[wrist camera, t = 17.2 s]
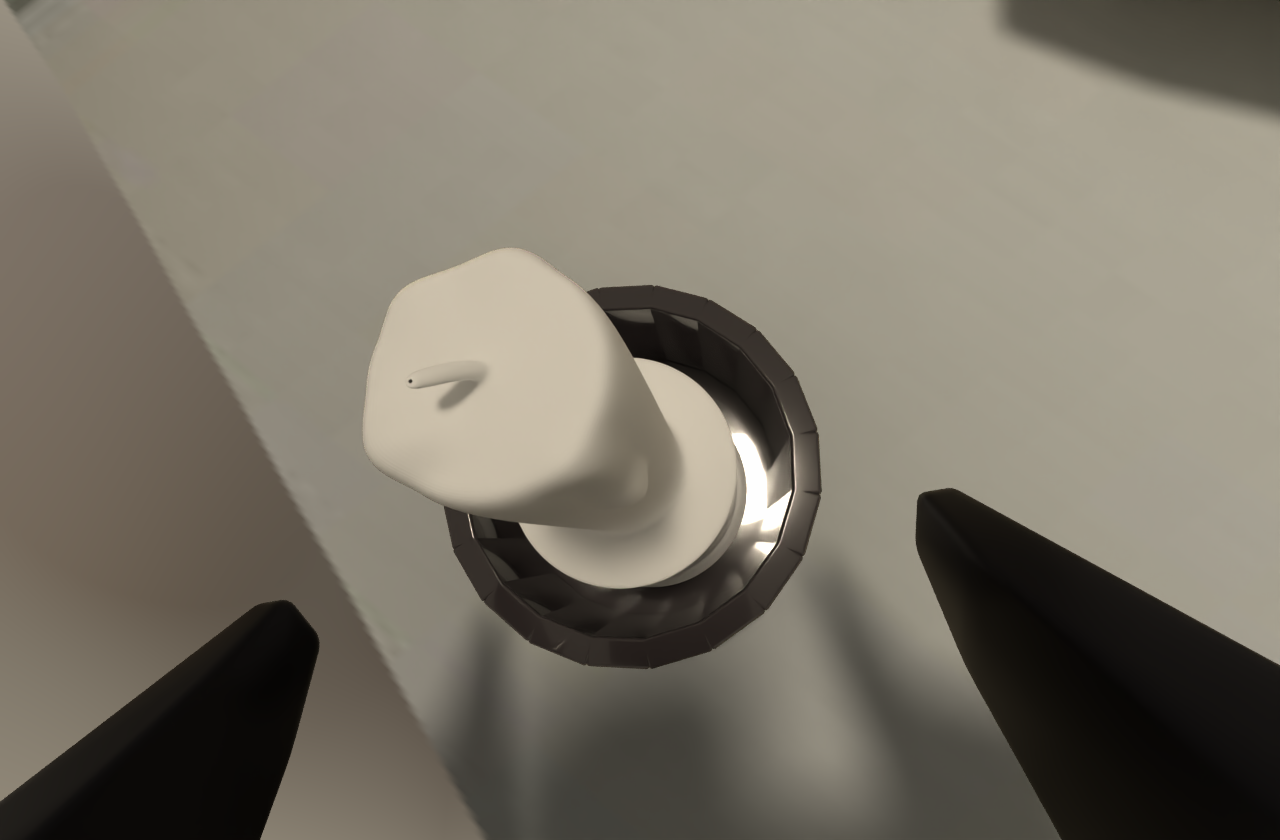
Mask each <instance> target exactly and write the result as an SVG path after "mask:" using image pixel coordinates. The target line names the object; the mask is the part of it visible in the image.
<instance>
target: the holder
mask: <svg viewBox="0 0 1280 840" xmlns="http://www.w3.org/2000/svg"><path fill="white" fill-rule="evenodd" d="M587 293H588V294H589V295H590V296H591V297H592V298H593V299H594V300H595V302H596V303H597V304H598V305H599V306H600V307H601V309H602V310H603V311H604V312H605V314H606V315H607V316H608V318H609V319H610V321H611V322H612V324H613V325H614V327H615V328H616V330H617V331H618V333H619V334H620V336H621V338H622V339H623V341H624V343H625V344H626V346H627V348H628V349H629V351H630V353H631V355H632V356H633V358H641V359H647V360H652V361H656V362H659V363H662V364H665V365H668V366H670V367H672V368H674V369H676V370H678V371H680V372H682V373H684V374H685V375H687V376H688V377H690V378H691V379H692V380H694V381H695V382H696V383H697V384H699V385H700V386H701V387H702V388H703V389H704V390H705V391H706V392H707V393H708V394H709V395H710V397H711V398H712V399H713V400H714V402H715V403H716V404H717V406H718V407H719V409H720V410H721V412H722V414H723V416H724V418H725V419H726V422H727V424H728V426H729V429H730V431H731V434H732V437H733V441H734V444H735V446H736V448H737V450H738V452H739V454H740V457H741V459H742V462H743V466H744V470H745V475H746V483H747V499H746V507H745V512H744V516H743V519H742V523H741V525H740V528H739V530H738V532H737V534H736V536H735V538H734V540H733V542H732V543H731V545H730V546H729V548H728V549H727V550H726V552H725V553H724V554H723V555H722V556H721V557H720V558H719V559H718V560H717V561H716V562H715V563H714V564H713V565H712V566H710V567H709V568H708V569H706V570H705V571H704V572H702V573H700V574H699V575H697V576H695V577H693V578H691V579H689V580H686V581H684V582H681V583H678V584H674V585H669V586H663V587H636V588H624V589H616V588H605V587H599V586H594V585H590V584H587V583H584V582H581V581H579V580H576V579H574V578H572V577H570V576H568V575H566V574H564V573H563V572H561V571H559V570H558V569H556V568H555V567H554V566H552V565H551V564H550V563H549V562H548V561H546V560H545V559H544V558H543V557H542V556H541V555H540V554H539V553H538V552H537V550H536V549H535V548H534V547H533V546H532V544H531V543H530V542H529V540H528V539H527V537H526V535H525V534H524V532H523V530H522V528H521V526H520V524H519V523H518V522H511V521H504V520H498V519H492V518H486V517H481V516H477V515H472V514H468V513H464V512H461V511H458V510H454V509H452V508H449V507H446V506H444V509H445V514H446V518H447V523H448V528H449V532H450V537H451V542H452V547H453V548H454V553H455V555H456V557H457V558H458V560H459V562H460V563H461V565H462V567H463V569H464V570H465V572H466V574H467V576H468V577H469V579H470V581H471V583H472V584H473V586H474V588H475V590H476V591H477V593H478V595H479V597H480V598H481V600H482V601H484V603H485V604H486V605H487V606H488V607H489V608H490V609H492V610H493V611H494V612H495V613H496V614H497V615H498V616H499V617H501V618H502V619H503V620H504V621H505V622H506V623H507V624H509V625H510V626H511V627H512V628H513V629H514V630H515V631H516V632H518V633H519V634H520V635H521V636H522V637H523V638H524V639H525V640H528V641H529V642H530V643H531V644H533V645H536V646H538V647H541V648H543V649H546V650H548V651H550V652H553V653H555V654H558V655H560V656H562V657H565V658H567V659H570V660H572V661H575V662H577V663H579V664H582V665H586V664H587V665H588V666H597V667H616V668H636V669H648V668H649V667H650V668H651V669H653V668H656V667H660V666H663V665H667V664H670V663H673V662H677V661H680V660H683V659H687V658H690V657H693V656H697V655H700V654H703V653H707V652H710V651H711V650H712V649H716V648H717V647H718V646H720V645H721V644H722V643H724V642H725V641H727V640H728V639H729V638H731V637H732V636H733V635H735V634H736V633H738V632H739V631H740V630H742V629H743V628H744V627H746V626H747V625H749V624H750V623H751V622H753V621H754V620H755V619H757V618H758V617H760V616H761V615H762V614H764V612H765V610H767V609H769V607H770V606H771V604H772V603H773V601H774V600H775V598H776V597H777V596H778V594H779V593H780V591H781V590H782V588H783V587H784V586H785V584H786V583H787V581H788V580H789V578H790V577H791V575H792V574H793V573H794V571H795V570H796V568H797V567H798V565H799V564H800V563H801V561H802V559H803V557H802V556H804V554H805V552H806V549H807V545H808V542H809V538H810V535H811V531H812V528H813V524H814V521H815V517H816V513H817V510H818V506H819V503H820V499H821V495H819V494H821V491H822V488H821V469H820V449H819V434H818V432H817V426H816V424H815V421H814V419H813V416H812V413H811V411H810V408H809V406H808V403H807V401H806V398H805V396H804V393H803V391H802V388H801V386H800V383H799V381H798V378H797V377H796V376H794V375H795V374H794V371H793V370H792V369H791V368H790V367H789V365H788V364H787V363H786V362H785V361H784V360H783V358H782V357H781V356H780V355H779V354H778V352H777V351H776V350H775V349H774V348H773V346H772V345H771V344H770V343H769V342H768V340H767V339H766V338H765V337H764V336H763V335H762V333H761V332H760V331H758V330H757V329H756V328H755V327H754V326H752V325H751V324H749V323H747V322H746V321H744V320H742V319H741V318H739V317H738V316H736V315H734V314H733V313H731V312H730V311H728V310H726V309H725V308H723V307H722V306H720V305H718V304H717V303H715V302H713V301H712V300H708V299H707V298H704V297H700V296H696V295H692V294H688V293H684V292H680V291H676V290H672V289H668V288H664V287H660V286H655V287H654V286H653V285H642V286H623V287H604V288H600V289H598V288H596V289H593V290H590V291H588V292H587ZM756 330H757V331H756Z"/></svg>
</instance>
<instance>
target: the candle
mask: <svg viewBox="0 0 1280 840" xmlns="http://www.w3.org/2000/svg"><path fill="white" fill-rule="evenodd" d="M362 435H363V444H364V448H365V451H366V454H367V456H368V458H369V459H370V461H371V462H372V463H373V464H374V466H375V467H376V468H378V469H379V470H380V471H381V472H382V473H384V474H385V475H387V476H389V477H390V478H392V479H394V480H396V481H398V482H400V483H402V484H404V485H406V486H408V487H410V488H412V489H414V490H415V491H417V492H419V493H420V494H422V495H424V496H425V497H427V498H429V499H431V500H433V501H435V502H437V503H439V504H441V505H444V506H446V507H449V508H452V509H454V510H458V511H461V512H464V513H468V514H472V515H477V516H481V517H486V518H492V519H498V520H504V521H511V522H518V523H519V524H520V526H521V528H522V530H523V532H524V534H525V535H526V537H527V539H528V540H529V542H530V543H531V544H532V546H533V547H534V548H535V549H536V550H537V552H538V553H539V554H540V555H541V556H542V557H543V558H544V559H545V560H546V561H548V562H549V563H550V564H551V565H552V566H554V567H555V568H556V569H558V570H559V571H561V572H563V573H564V574H566V575H568V576H570V577H572V578H574V579H576V580H579V581H581V582H584V583H587V584H590V585H594V586H599V587H605V588H616V589H624V588H636V587H663V586H669V585H674V584H678V583H681V582H684V581H686V580H689V579H691V578H693V577H695V576H697V575H699V574H700V573H702V572H704V571H705V570H706V569H708V568H709V567H710V566H712V565H713V564H714V563H715V562H716V561H717V560H718V559H719V558H720V557H721V556H722V555H723V554H724V553H725V552H726V550H727V549H728V548H729V546H730V545H731V543H732V542H733V540H734V538H735V536H736V534H737V532H738V530H739V528H740V525H741V523H742V519H743V516H744V512H745V507H746V499H747V483H746V475H745V470H744V466H743V462H742V459H741V457H740V454H739V452H738V450H737V448H736V446H735V444H734V441H733V437H732V434H731V431H730V429H729V426H728V424H727V422H726V419H725V418H724V416H723V414H722V412H721V410H720V409H719V407H718V406H717V404H716V403H715V402H714V400H713V399H712V398H711V397H710V395H709V394H708V393H707V392H706V391H705V390H704V389H703V388H702V387H701V386H700V385H699V384H697V383H696V382H695V381H694V380H692V379H691V378H690V377H688V376H687V375H685V374H684V373H682V372H680V371H678V370H676V369H674V368H672V367H670V366H668V365H665V364H662V363H659V362H656V361H652V360H647V359H641V358H633V356H632V355H631V353H630V351H629V349H628V348H627V346H626V344H625V343H624V341H623V339H622V338H621V336H620V334H619V333H618V331H617V330H616V328H615V327H614V325H613V324H612V322H611V321H610V319H609V318H608V316H607V315H606V314H605V312H604V311H603V310H602V309H601V307H600V306H599V305H598V304H597V303H596V302H595V300H594V299H593V298H592V297H591V296H590V295H589V294H588V293H587V292H586V291H585V290H583V289H582V288H581V287H580V286H579V285H578V284H576V283H575V282H574V281H572V280H571V279H569V278H568V277H566V276H565V275H563V274H562V273H560V272H559V271H558V270H556V269H555V268H554V267H553V266H551V265H550V264H549V263H548V262H546V261H545V260H544V259H542V258H541V257H539V256H537V255H536V254H534V253H531V252H529V251H527V250H523V249H519V248H502V249H498V250H494V251H491V252H488V253H485V254H483V255H481V256H479V257H476V258H474V259H472V260H470V261H467V262H465V263H463V264H460V265H458V266H455V267H453V268H450V269H447V270H444V271H441V272H438V273H435V274H432V275H429V276H426V277H424V278H421V279H419V280H416V281H414V282H412V283H410V284H409V285H407V286H406V287H404V288H403V289H402V290H401V291H400V292H399V293H398V294H397V295H396V296H395V298H394V299H393V301H392V302H391V304H390V306H389V308H388V311H387V314H386V316H385V320H384V323H383V326H382V330H381V333H380V336H379V339H378V341H377V344H376V346H375V349H374V352H373V355H372V358H371V362H370V366H369V371H368V377H367V386H366V398H365V406H364V414H363V428H362Z"/></svg>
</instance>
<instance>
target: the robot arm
mask: <svg viewBox="0 0 1280 840" xmlns="http://www.w3.org/2000/svg"><path fill="white" fill-rule="evenodd" d="M916 546H917V550H918V554H919V556H920V559H921V561H922V564H923V566H924V569H925V571H926V573H927V576H928V578H929V581H930V583H931V585H932V588H933V590H934V592H935V595H936V597H937V600H938V602H939V604H940V607H941V609H942V611H943V614H944V616H945V619H946V621H947V623H948V626H949V628H950V631H951V633H952V635H953V638H954V640H955V642H956V645H957V647H958V649H959V652H960V654H961V656H962V658H963V661H964V663H965V665H966V667H967V669H968V671H969V673H970V675H971V677H972V679H973V681H974V682H975V684H976V686H977V688H978V690H979V692H980V693H981V695H982V697H983V699H984V701H985V702H986V704H987V706H988V708H989V710H990V711H991V713H992V715H993V717H994V719H995V720H996V722H997V724H998V726H999V728H1000V729H1001V731H1002V733H1003V735H1004V737H1005V738H1006V740H1007V742H1008V744H1009V746H1010V747H1011V749H1012V751H1013V753H1014V755H1015V756H1016V758H1017V760H1018V762H1019V764H1020V765H1021V767H1022V769H1023V771H1024V773H1025V774H1026V776H1027V778H1028V780H1029V782H1030V783H1031V785H1032V787H1033V789H1034V791H1035V792H1036V794H1037V796H1038V798H1039V800H1040V801H1041V803H1042V805H1043V807H1044V809H1045V810H1046V812H1047V814H1048V816H1049V818H1050V819H1051V821H1052V823H1053V825H1054V827H1055V828H1056V830H1057V832H1058V834H1059V836H1060V837H1061V839H1062V840H1280V665H1278V664H1276V663H1274V662H1273V661H1271V660H1269V659H1267V658H1265V657H1263V656H1262V655H1260V654H1258V653H1256V652H1254V651H1252V650H1251V649H1249V648H1247V647H1245V646H1243V645H1241V644H1240V643H1238V642H1236V641H1234V640H1232V639H1230V638H1229V637H1227V636H1225V635H1223V634H1221V633H1219V632H1218V631H1216V630H1214V629H1212V628H1210V627H1208V626H1207V625H1205V624H1203V623H1201V622H1199V621H1197V620H1196V619H1194V618H1192V617H1190V616H1188V615H1186V614H1184V613H1183V612H1181V611H1179V610H1177V609H1175V608H1173V607H1172V606H1170V605H1168V604H1166V603H1164V602H1162V601H1161V600H1159V599H1157V598H1155V597H1153V596H1151V595H1150V594H1148V593H1146V592H1144V591H1142V590H1140V589H1139V588H1137V587H1135V586H1133V585H1131V584H1129V583H1128V582H1126V581H1124V580H1122V579H1120V578H1118V577H1117V576H1115V575H1113V574H1111V573H1109V572H1107V571H1106V570H1104V569H1102V568H1100V567H1098V566H1096V565H1095V564H1093V563H1091V562H1089V561H1087V560H1085V559H1084V558H1082V557H1080V556H1078V555H1076V554H1074V553H1072V552H1071V551H1069V550H1067V549H1065V548H1063V547H1061V546H1060V545H1058V544H1056V543H1054V542H1052V541H1050V540H1049V539H1047V538H1045V537H1043V536H1041V535H1039V534H1038V533H1036V532H1034V531H1032V530H1030V529H1028V528H1027V527H1025V526H1023V525H1021V524H1019V523H1017V522H1016V521H1014V520H1012V519H1010V518H1008V517H1006V516H1005V515H1003V514H1001V513H999V512H997V511H995V510H994V509H992V508H990V507H988V506H986V505H984V504H983V503H981V502H979V501H977V500H975V499H973V498H972V497H970V496H968V495H966V494H964V493H962V492H960V491H958V490H956V489H953V488H946V489H940V490H934V491H928V492H924V493H922V494H920V495H919V498H918V501H917V517H916ZM318 652H319V638H318V635H317V633H316V631H315V630H314V629H313V628H312V627H311V625H310V624H309V623H308V621H307V620H306V619H305V618H304V616H303V615H302V614H301V613H300V612H299V610H298V609H297V608H296V607H295V605H293V604H292V603H291V602H289V601H287V600H279V601H273V602H267V603H262V604H259V605H257V606H255V607H253V608H252V609H251V610H249V611H248V612H246V613H245V614H244V615H243V616H241V617H240V618H239V619H237V620H236V621H235V622H233V623H232V624H231V625H230V626H229V627H227V628H226V629H224V630H223V631H222V632H220V633H219V634H218V635H217V636H216V637H214V638H213V639H211V640H210V641H209V642H208V643H206V644H205V645H204V646H202V647H201V648H200V649H199V650H197V651H196V652H195V653H193V654H192V655H190V656H189V657H188V658H187V659H185V660H184V661H183V662H182V663H180V664H179V665H177V666H176V667H175V668H174V669H172V670H171V671H170V672H168V673H167V674H166V675H164V676H163V677H162V678H161V679H159V680H158V681H157V682H155V683H154V684H153V685H151V686H150V687H149V688H148V689H146V690H145V691H144V692H142V693H141V694H140V695H138V696H137V697H136V698H135V699H133V700H132V701H131V702H129V703H128V704H127V705H125V706H124V707H123V708H121V709H120V710H119V711H118V712H116V713H115V714H114V715H112V716H111V717H110V718H108V719H107V720H106V721H105V722H103V723H102V724H101V725H99V726H98V727H97V728H96V729H94V730H93V731H92V732H90V733H89V734H88V735H86V736H85V737H84V738H82V739H81V740H80V741H78V742H77V743H76V744H75V745H73V746H72V747H71V748H69V749H68V750H67V751H65V753H63V754H62V755H60V756H59V757H58V758H56V759H55V760H54V761H52V762H51V763H50V764H49V765H47V766H46V767H45V768H43V769H42V770H41V771H40V772H38V773H37V774H36V775H34V776H33V777H32V778H30V779H29V780H28V781H26V782H25V783H24V784H23V785H21V786H20V787H19V788H17V789H16V790H15V791H13V792H12V793H11V794H10V795H8V796H7V797H6V798H4V799H3V800H2V801H0V840H260V838H261V835H262V833H263V830H264V827H265V824H266V822H267V819H268V816H269V813H270V810H271V808H272V805H273V802H274V800H275V797H276V794H277V792H278V789H279V786H280V783H281V781H282V777H283V775H284V772H285V769H286V766H287V764H288V760H289V758H290V755H291V751H292V748H293V744H294V741H295V738H296V734H297V730H298V727H299V723H300V719H301V715H302V712H303V708H304V704H305V701H306V697H307V693H308V689H309V686H310V682H311V678H312V675H313V670H314V667H315V663H316V660H317V655H318Z"/></svg>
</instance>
